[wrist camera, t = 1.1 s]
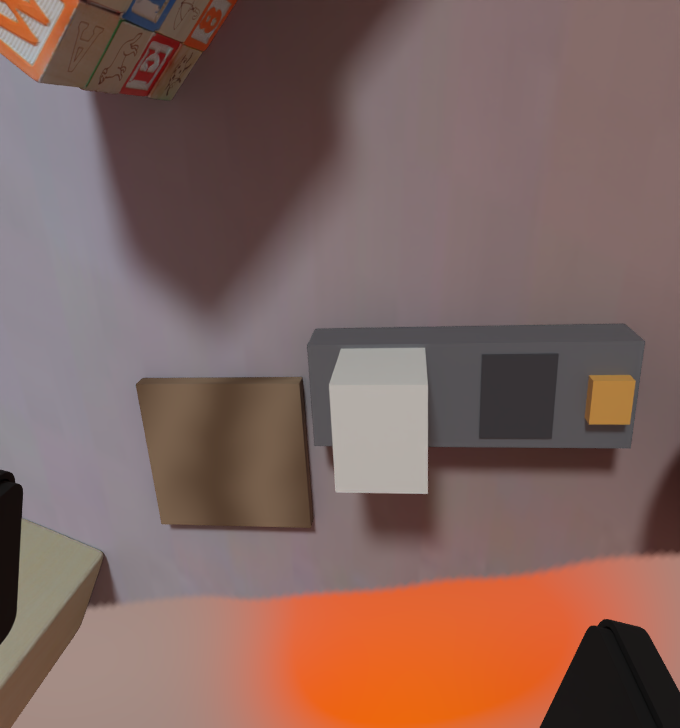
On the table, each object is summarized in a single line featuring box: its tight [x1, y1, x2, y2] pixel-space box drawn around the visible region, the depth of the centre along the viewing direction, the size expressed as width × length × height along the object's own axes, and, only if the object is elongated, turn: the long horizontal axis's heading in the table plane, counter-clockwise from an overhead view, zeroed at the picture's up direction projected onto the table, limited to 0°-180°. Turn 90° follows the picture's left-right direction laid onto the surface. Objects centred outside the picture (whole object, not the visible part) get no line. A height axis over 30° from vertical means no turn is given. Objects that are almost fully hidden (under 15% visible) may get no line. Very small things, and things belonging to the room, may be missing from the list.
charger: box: [329, 348, 428, 494], centre depth 30 cm, size 4×6×7 cm
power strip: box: [307, 324, 645, 448], centre depth 32 cm, size 17×6×4 cm, turn 93°
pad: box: [136, 377, 313, 528], centre depth 37 cm, size 10×10×1 cm
